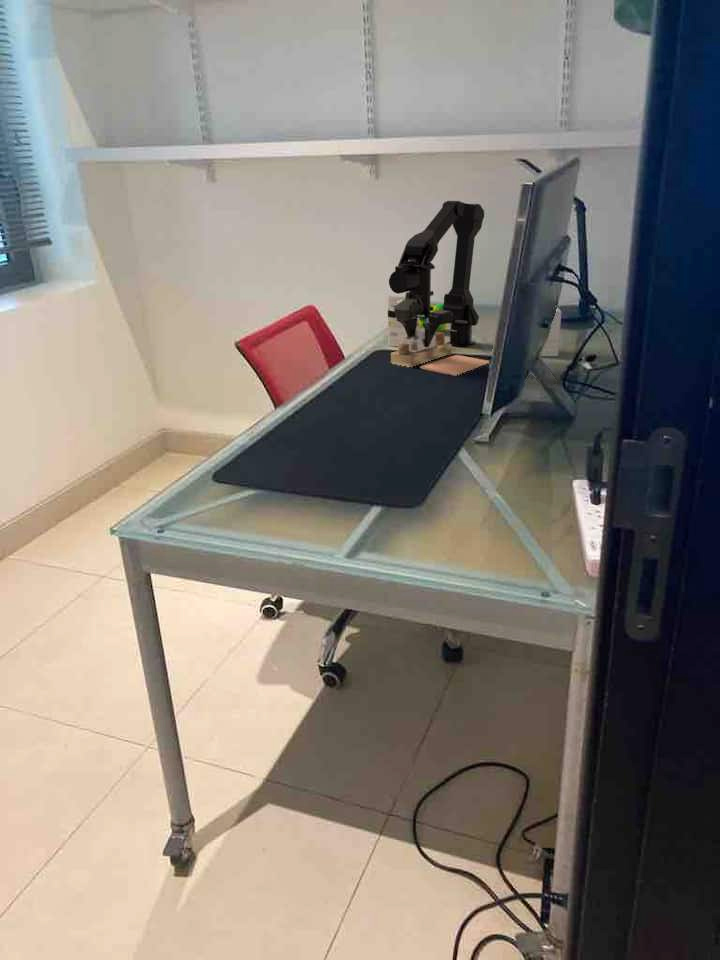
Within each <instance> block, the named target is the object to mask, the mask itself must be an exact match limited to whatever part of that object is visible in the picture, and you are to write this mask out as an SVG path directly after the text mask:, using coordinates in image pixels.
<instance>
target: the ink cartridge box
mask: <svg viewBox="0 0 720 960" xmlns="http://www.w3.org/2000/svg"><path fill="white" fill-rule="evenodd" d="M404 300H405V296H388V300H387V302H388V303H387V305H388V306H387V310H388V309H389V308H390V306H395V305H398V304H399V303H400V302H401V301H404ZM398 301H400V302H398ZM417 329H419V318H418V317H417V325H416V330H417ZM405 337H408V336H407V333H406V330H405V328H404V326H403V325H402V324H401V323H400V322H399V321H397V320H396V318H391V317H388V316H387V338H388V339H387V341H388V343H387V345H388V346H389V347H399V344H403V338H405Z"/></svg>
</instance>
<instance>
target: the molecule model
mask: <svg viewBox="0 0 720 960" xmlns="http://www.w3.org/2000/svg"><path fill="white" fill-rule="evenodd" d="M443 305H444V303H437V304H435V305H433V304H432V303H431V302H430V306H432V307H433V311H430V312H434V311H438V310H443ZM422 315H423V314H422ZM423 323H427V319H425V318H419V329H421V328H424V327H423V325H422V324H423ZM446 328H447V323H446V324H442V325H439V327H438V329H437V330H436V332H444V330H446ZM424 329H425V328H424ZM436 332H435V333H436Z"/></svg>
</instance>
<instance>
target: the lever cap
mask: <svg viewBox="0 0 720 960" xmlns="http://www.w3.org/2000/svg"><path fill="white" fill-rule="evenodd" d="M403 344H409V350H412V351H421V350H424V349H427V348H431V347H434V346H436V335H434V336H433V339H432V341H431V343H430V345H429V347H425V329H424V328H421V329H417V330H415V335H412V336H409V337H405V338H403Z"/></svg>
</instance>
